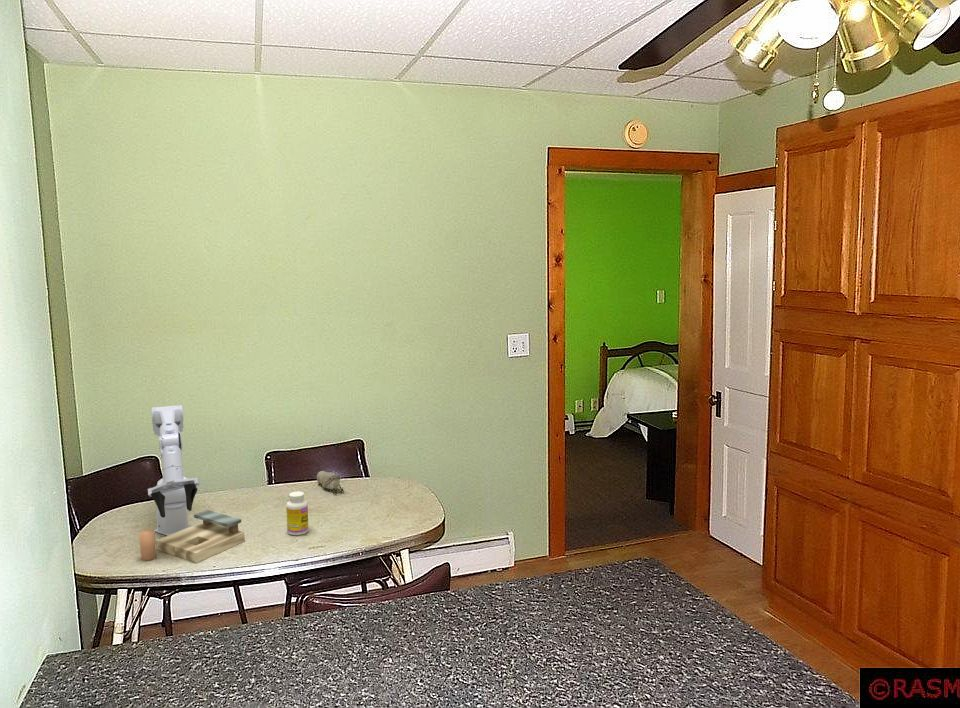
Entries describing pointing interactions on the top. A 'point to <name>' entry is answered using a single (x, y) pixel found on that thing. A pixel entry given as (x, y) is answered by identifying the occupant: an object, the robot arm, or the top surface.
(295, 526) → the supplement bottle
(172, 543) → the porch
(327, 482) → the decorative bird
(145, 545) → the peg
